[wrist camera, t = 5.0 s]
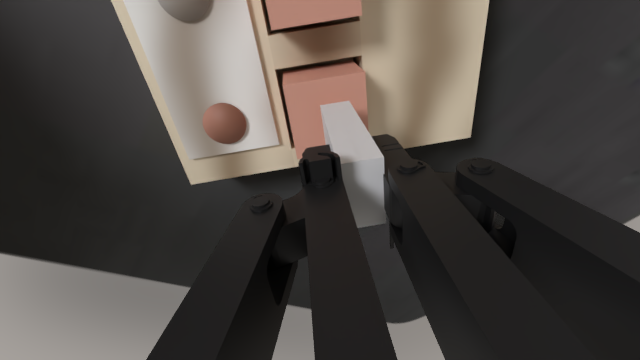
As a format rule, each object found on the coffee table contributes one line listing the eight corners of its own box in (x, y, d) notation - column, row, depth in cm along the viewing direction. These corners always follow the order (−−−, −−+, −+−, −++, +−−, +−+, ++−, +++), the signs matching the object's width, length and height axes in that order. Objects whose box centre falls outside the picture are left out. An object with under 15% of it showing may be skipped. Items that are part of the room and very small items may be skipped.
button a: (295, 136, 21) (297, 159, 18) (283, 71, 19) (282, 85, 15) (356, 125, 21) (369, 147, 18) (351, 60, 19) (365, 71, 15)
